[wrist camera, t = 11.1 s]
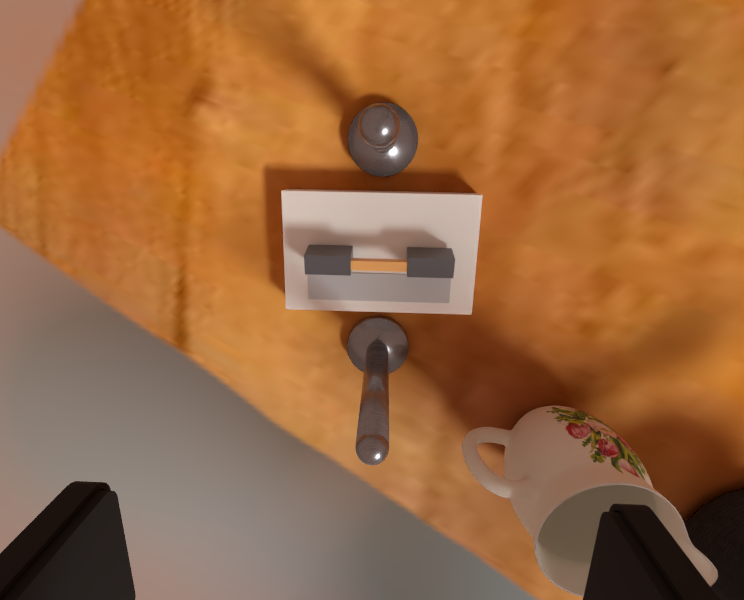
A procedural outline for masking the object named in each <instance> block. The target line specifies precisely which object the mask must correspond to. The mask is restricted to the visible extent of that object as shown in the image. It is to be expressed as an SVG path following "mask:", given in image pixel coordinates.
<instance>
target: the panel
mask: <svg viewBox="0 0 744 600" xmlns="http://www.w3.org/2000/svg"><path fill="white" fill-rule="evenodd" d="M281 197H282V222H283V247H284V272H285V297H286V309H294V310H328V311H362V312H396V313H431V314H465V315H472V306H473V295H474V284H475V273H476V262H477V250H478V239H479V228H480V217H481V206H482V195H481V194H478V193H456V192H410V191H364V190H319V189H285V190H282V191H281ZM308 245H348V246H353V258H371V259H406V256H407V247H427V248H452V251H453V254H454V257H455V267H454V276H453V278H420V277H407V272H392V271H354V270H352V271H351V276H347V275H310V274H305V267H304V254H305V252H306V250H307V247H308Z"/></svg>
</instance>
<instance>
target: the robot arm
mask: <svg viewBox="0 0 744 600" xmlns="http://www.w3.org/2000/svg"><path fill="white" fill-rule="evenodd" d="M0 600H135V590H134V585H133V578H132V573H131V567H130V562H129V557H128V552H127V546H126V540H125V535H124V529H123V524H122V519H121V513H120V508H119V502H118V497H117V494H116V493H115V492H114V491H111V490H110V487H109V485H108V484H107V483H103V482H80V481H76V482H73V483H71V484H69V485H68V486H67V487H66V488H65V489H64V490H63V491H62V492H61V493H60V494H59V495H58V496H57V497H56V498H55V499H54V500H53V501H52V502H51V503H50V504H49V505H48V506H47V507H46V508H45V509H44V510H43V511H42V512H41V513H40V514H39V515H38V516H37V517H36V518H35V519H34V520H33V521H32V522H31V523H30V524H29V525H28V526H27V527H26V528H25V529H24V530H23V531H22V532H21V533H20V534H19V535H18V536H17V537H16V538H15V539H14V540H13V541H12V542H11V543H10V544H9V545H8V546H7V547H6V549H4V551H2V552H1V554H0ZM583 600H721V599H720V597H719V596H718V595H717V594H716V593H715V592H714V591H713V590H712V588H711V587H710V586H709V584H708V583H707V582H706V580H705V579H704V578H703V576H702V575H701V574H700V573H699V571H698V570H697V569H696V567H695V566H694V565H693V563H692V562H691V561H690V559H689V558H688V557H687V555H686V554H685V553H684V551H683V550H682V549H681V547H680V546H679V545H678V543H677V542H676V541H675V539H674V538H673V537H672V535H671V534H670V533H669V531H668V530H667V529H666V527H665V526H664V525H663V523H662V522H661V521H660V520H659V518H658V517H657V516H656V514H655V513H654V512H653V510H652V509H651V508H650V507H648V506H646V505H637V504H613V505H612V506H611V507H610V509H609V512H603V513H602V514H601V517H600V522H599V527H598V531H597V536H596V541H595V545H594V550H593V555H592V559H591V564H590V569H589V573H588V578H587V583H586V587H585V592H584V597H583Z"/></svg>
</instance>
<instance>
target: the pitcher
mask: <svg viewBox="0 0 744 600" xmlns="http://www.w3.org/2000/svg"><path fill="white" fill-rule="evenodd" d="M481 443H497V444H501V445H504V446H505V453H504V477H505V478H504V477H502V476H500V475H498V474H496V473H495V472H494V471H492V470H491V469H490V468H489V467H488V466H487V465H486V464H485V462H484V461H483V460H482V458H481V456H480V454H479V452H478V449H477V445H479V444H481ZM462 451H463V455H464V459H465V462H466V464H467V466H468V469H469V470H470V472H471V473H472V475H473V476H474V477H475V478H476V480H477V481H478V482H479V483H480V484H481V485H483V486H484V487H485V488H486V489H488V490H489V491H491V492H492V493H494V494H496V495H498V496H501V497H504V498H508V499H510V501H511V504H512V506H513V509H514V511H515V513H516V515H517V517H518V518H519V520H520V522H521V523H522V525H523V526H524V528H525V529H526V530H527V531H528V533H529V534H530V535H531V536H532V538H533V543H534V550H535V555H536V559H537V562H538V564H539V567H540V568H541V570H542V572H543V573H544V574H545V576H546V577H547V578H548V579H549V580H550V581H551V582H552V583H553V584H555V585H556V586H558V587H559V588H561V589H563V590H565V591H567V592H569V593H572V594H574V595H578V596H581V597H584V592H585V587H586V583H587V578H588V573H589V569H590V564H591V559H592V555H593V550H594V545H595V541H596V536H597V531H598V527H599V522H600V517H601V514H602V513H603V512H609V509H610V507H611V506H612V505H613V504H637V505H646V506H648V507H650V508H651V509H652V510H653V512H654V513H655V514H656V516H657V517H658V518H659V520H660V521H661V522H662V523H663V525H664V526H665V527H666V529H667V530H668V531H669V533H670V534H671V535H672V537H673V538H674V539H675V541H676V542H677V543H678V545H679V546H680V547H681V549H682V550H683V551H684V553H685V554H686V555H687V557H688V558H689V559H690V561H691V562H692V563H693V565H694V566H695V567H696V569H697V570H698V571H699V573H700V574H701V575H702V576H703V578H704V579H705V580H706V582H707V583H708V584H709V586H710V587H711V586H712V585H713V584H714V583H715V582H716V580H717V578H718V572H717V569H716V568H715V566H714V565H713V563H712V562H711V561H710V560H709V559H708V558H707V557H706V556H705V555H703V554H702V553H701V552H700V551H699V550H697V549H696V548H695V547H694V546H693V544H692V543H691V541H690V539H689V536H688V533H687V530H686V527H685V524H684V522H683V520H682V518H681V516H680V514H679V512H678V511H677V510H676V508H675V507H674V506H673V505H672V504H671V503H670V502H669V501H668V500H667V499H666V498H665V497H664V496H663V495H661V494H660V493H659V492H658V491H656V490H655V489H654V488H653V486H652V483H651V480H650V478H649V476H648V474H647V472H646V469H645V468H644V466H643V464H642V462H641V461H640V460H639V458H638V457H637V455H636V454H635V452H634V451H633V450H632V449H631V447H630V446H629V445H628V444H627V443H626V442H625V441H624V440H623V439H622V438H621V437H620V436H619V435H618V434H617V433H616V432H615V431H613V430H612V429H611V428H610V427H608V426H607V425H606V424H604V423H603V422H601V421H600V420H598V419H596V418H594V417H593V416H591V415H589V414H587V413H585V412H582V411H580V410H577V409H574V408H570V407H565V406H555V405H552V406H545V407H539V408H536V409H533V410H531V411H529V412H528V413H526V414H525V415H524V416H522V417H521V418H520V420H519V421H518V422H517V423H516V425H515V426H514V427H513V429H512V430H505V429H501V428H495V427H479V428H476V429H473V430H471V431H469V432H468V433H467V434H466V436H465V438H464V440H463V444H462Z"/></svg>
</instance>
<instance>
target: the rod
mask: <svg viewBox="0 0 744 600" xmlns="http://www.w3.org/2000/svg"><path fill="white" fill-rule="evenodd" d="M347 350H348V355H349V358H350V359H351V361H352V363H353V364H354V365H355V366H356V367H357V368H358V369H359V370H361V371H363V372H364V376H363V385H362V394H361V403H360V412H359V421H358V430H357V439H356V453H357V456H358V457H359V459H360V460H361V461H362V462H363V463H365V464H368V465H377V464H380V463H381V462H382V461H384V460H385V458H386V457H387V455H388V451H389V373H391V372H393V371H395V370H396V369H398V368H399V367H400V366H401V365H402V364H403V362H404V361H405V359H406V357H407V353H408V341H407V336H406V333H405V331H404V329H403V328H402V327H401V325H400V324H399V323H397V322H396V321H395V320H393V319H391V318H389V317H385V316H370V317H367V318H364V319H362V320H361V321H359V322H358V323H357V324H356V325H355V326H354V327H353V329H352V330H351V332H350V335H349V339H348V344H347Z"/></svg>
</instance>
